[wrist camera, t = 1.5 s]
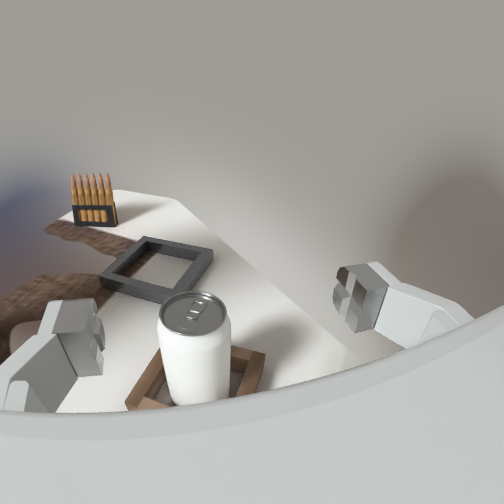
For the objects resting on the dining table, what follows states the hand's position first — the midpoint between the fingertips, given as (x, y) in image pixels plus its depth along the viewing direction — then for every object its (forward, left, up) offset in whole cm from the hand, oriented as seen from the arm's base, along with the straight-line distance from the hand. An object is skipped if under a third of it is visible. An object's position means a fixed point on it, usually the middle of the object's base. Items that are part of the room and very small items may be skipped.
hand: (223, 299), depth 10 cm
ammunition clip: (-44, +41, -23) cm, 64 cm away
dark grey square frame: (-21, +30, -23) cm, 43 cm away
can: (-6, +11, -23) cm, 26 cm away
